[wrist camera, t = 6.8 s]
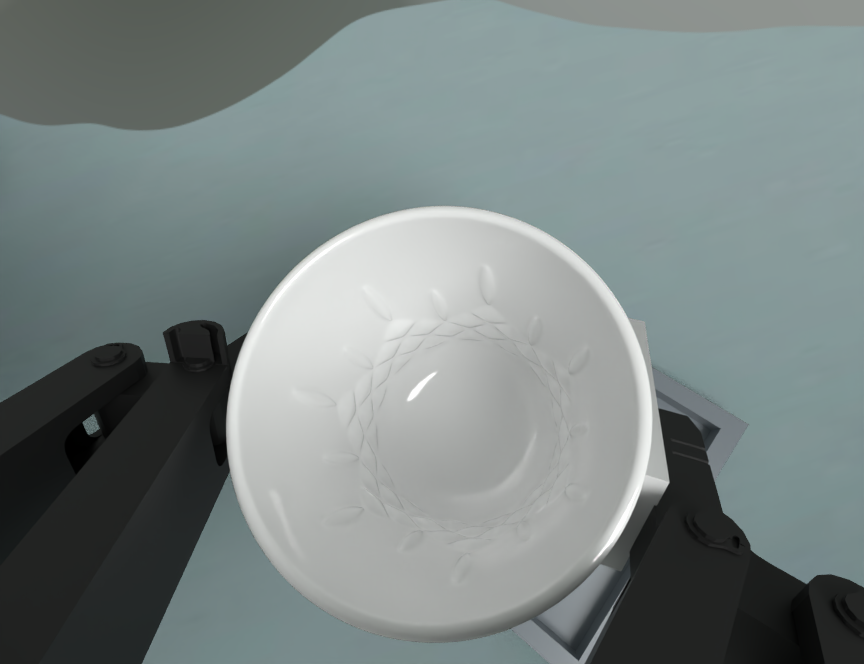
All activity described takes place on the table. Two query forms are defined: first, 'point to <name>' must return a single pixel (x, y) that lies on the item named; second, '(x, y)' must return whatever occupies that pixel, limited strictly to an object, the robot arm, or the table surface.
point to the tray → (594, 599)
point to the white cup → (439, 424)
